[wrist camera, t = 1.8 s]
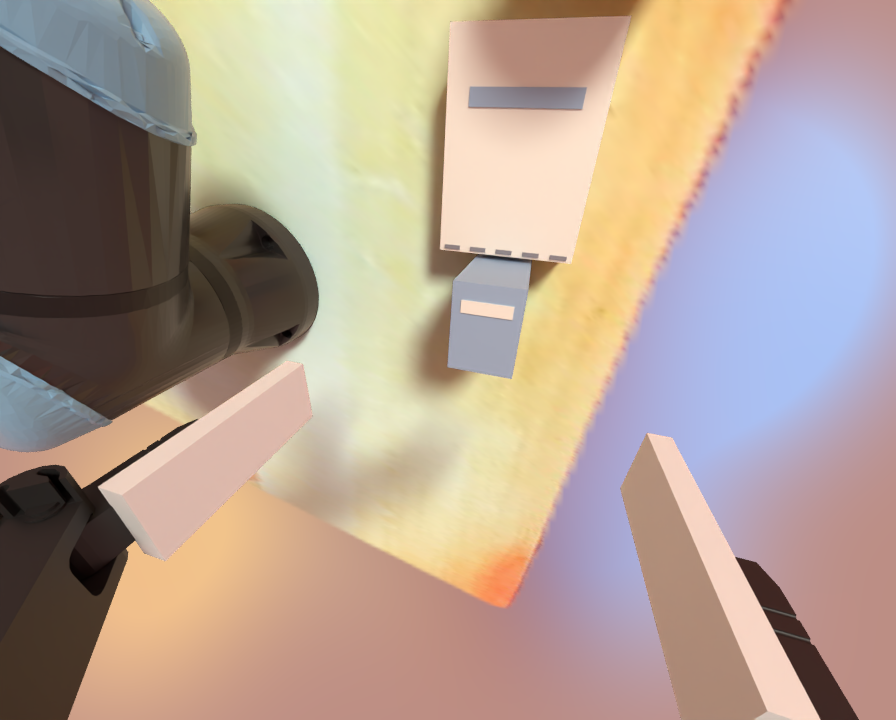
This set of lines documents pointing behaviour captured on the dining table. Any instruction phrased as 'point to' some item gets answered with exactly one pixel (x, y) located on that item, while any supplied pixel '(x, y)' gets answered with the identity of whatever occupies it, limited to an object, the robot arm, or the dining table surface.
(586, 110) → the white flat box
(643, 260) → the dining table surface
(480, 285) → the stub
